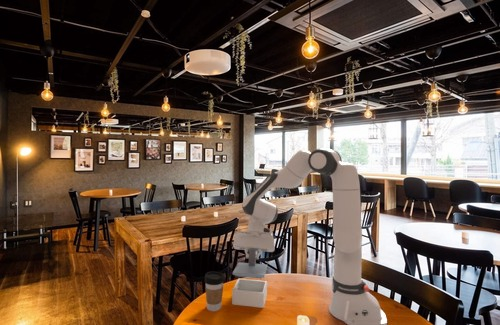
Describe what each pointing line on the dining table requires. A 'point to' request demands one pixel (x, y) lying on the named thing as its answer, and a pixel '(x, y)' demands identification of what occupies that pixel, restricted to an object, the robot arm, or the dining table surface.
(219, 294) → the coffee cup
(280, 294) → the dining table surface
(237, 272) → the lid
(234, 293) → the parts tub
